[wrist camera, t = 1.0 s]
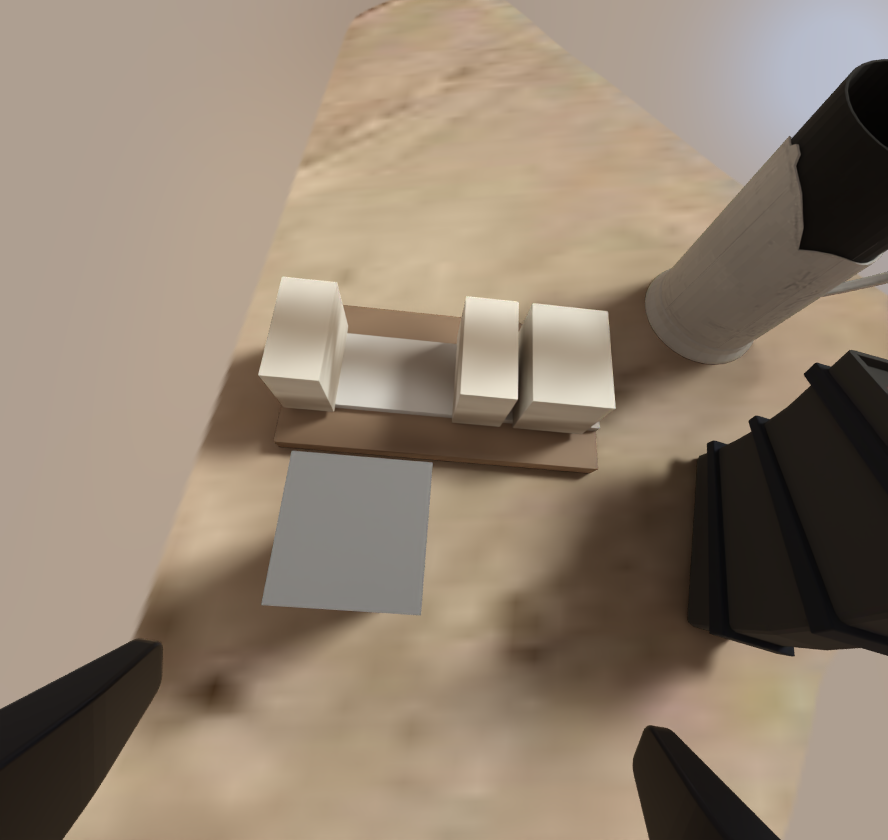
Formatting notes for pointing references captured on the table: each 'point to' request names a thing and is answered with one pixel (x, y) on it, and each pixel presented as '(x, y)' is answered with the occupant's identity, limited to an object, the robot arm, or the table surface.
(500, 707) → the table surface
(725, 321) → the glass holder
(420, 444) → the board
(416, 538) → the block
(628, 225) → the table surface
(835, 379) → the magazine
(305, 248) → the table surface
